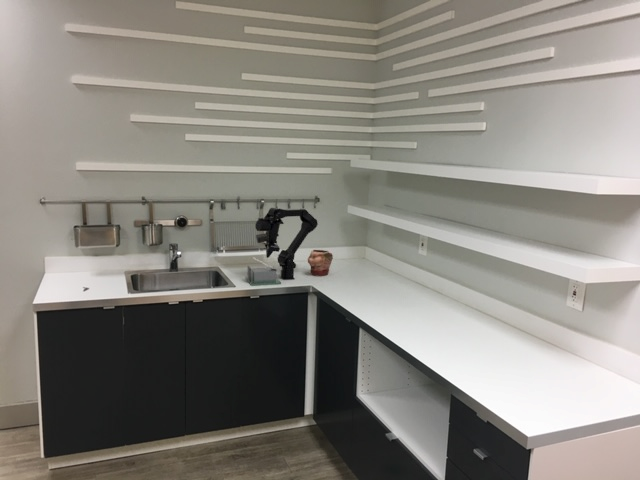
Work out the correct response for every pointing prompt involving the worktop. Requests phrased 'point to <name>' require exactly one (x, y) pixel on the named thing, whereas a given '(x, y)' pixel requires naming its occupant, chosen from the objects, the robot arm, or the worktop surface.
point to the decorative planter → (320, 262)
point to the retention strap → (264, 263)
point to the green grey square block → (262, 276)
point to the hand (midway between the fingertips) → (267, 257)
